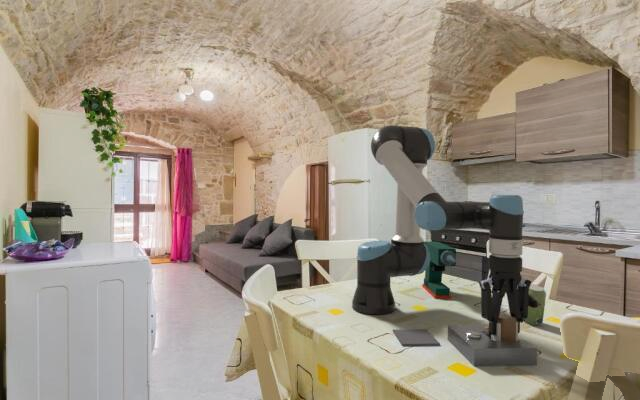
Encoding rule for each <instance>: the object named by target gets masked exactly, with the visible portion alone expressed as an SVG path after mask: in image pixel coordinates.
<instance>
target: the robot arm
mask: <svg viewBox="0 0 640 400" xmlns="http://www.w3.org/2000/svg"><path fill="white" fill-rule="evenodd" d="M370 143H371V144H370V149H371V150H370V151H371V153H372V156H373V157H374V159H375V161H376V162H377V164H379V165H382V166H383V167H384V168H385V169H386V170H387V171H388V173H389V174H390V176H391V177H392V178H393V180H394V181H395V182H396V185H397V191H396V193H397V194H396V212H395V214H396V215H395V216H396V219H395V234H394V235H393V236H392V237H391V240H390V241H388V240H371V241H366V242H363V243H361V244H360V245H359V246H358V248H357V255H356V261H357V262H356V263H357V267H356V269H357V272H356V273H357V274H356V279H357V281H356V283H357V284H356V289H355V291H354V294H353V297H352V299H351V303H352V304H351V308H352V309H353V310H354V311H356V312H358V313H362V314H367V315H386V314H391V313H393V312H395V311H396V301H395V298H394V294H393V292H392V288H391V278H397V277H407V276H409V277H413V276H417V275H421V274H423V273H425V270H426V269H427V267H428V265H429V262H430V253H429V251H428V247H427V246H426V245H425V244H424V242H425V240H424V239H423V237H422V236H421V235H420V232H421V229H422V230H425V231H442V230H443V231H446V230H471V229H474V230H475V229H476V230H486V231H487V230H488V232H489V233H488V234H489V237H488V239H489V241H488V252H489V253H490V254H489V256H488V269H489V271H490V272H489V275H488V277H487V278H486V279H484V280H483V279H480V280H478V285H479V287H480V302H481V303H480V305H481V306H480V307H481V309H480V310H481V311H480V312H481V318H483V319H484V320H486V321H488V325H489V333H490V334H491V339H492V340H493V341H496V340H501V323H499V322H498V319H499V314H501V308H502V305H503V298H504V297H505V296H506V297H507V303H508V309H509V316H511V317H514V318H516V340H519V338H518V336H519V334H520V332H521V324H522V323H524V320H523V318H525V319H526V318H527V317H528V297H529V288H530V285H531V284H532V281H531V280H530V279H528V278H523V276H522V275H521V272H522V271H523V258H522V255H523V243H524V242H523V240H524V239H523V227H524V224H523V223H524V214H525V213H524V212H525V211H524V203H523V202H524V201H523V200H524V199H523V197H522V196H521V195H518V194H493V195H491V196H490V197H489V201H488V202H487V201H474V200H473V201H471V200H470V201H468V200H467V201H466V200H465V201H446V199H444V197H443V196H442V195H441V194H440V193H439V192H438V190H437V189H436V188H435V187H434V186H433V185H432V183H431V182H430V181H429V180H428V179H427V178H426V176H425V175H424V174H423V170H424V169H425V168H426V167H427V165H428V161H429V160H430V159H431V158H433V155H434V153H435V149H436V141H435V139H434V136H433V134H432V133H431V131H429V130H428V129H426V128H421V127H419V126H402V125H394V124H391V125H385V126H383V127H380V128H379V129H378V130H377V131H376V132H375V133H374V134H373V137H372V139H371V142H370Z"/></svg>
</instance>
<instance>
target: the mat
mask: <svg viewBox="0 0 640 400" xmlns="http://www.w3.org/2000/svg"><path fill="white" fill-rule="evenodd" d="M392 333H393V334H394V336H395V338H396V339H397V341H398V342H399V343H400V345H401V347H422V346H425V347H426V346H428V347H429V346H431V347H432V346H433V347H435V346H440V345H441V344H440V341H438V340H437V339H436V337H434V335H432V333H431V332H430V331H429V330H428V329H427V328H426V329H425V328H422V329H421V328H415V329H414V328H413V329H412V328H411V329H407V328H406V329H392Z"/></svg>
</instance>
